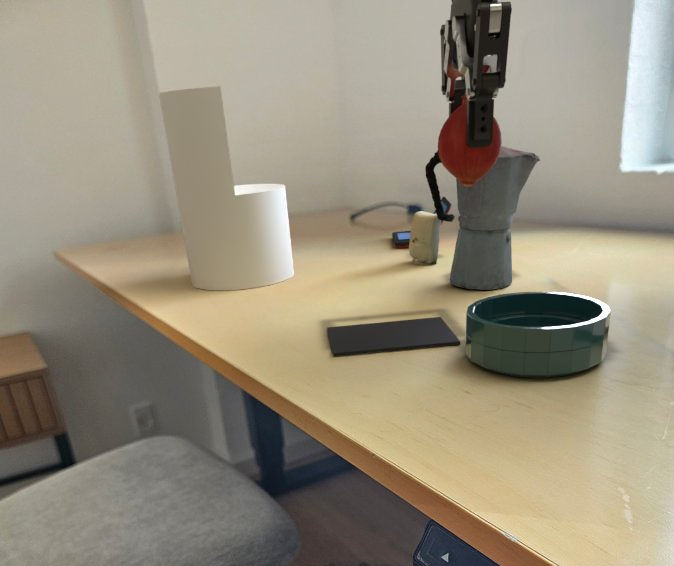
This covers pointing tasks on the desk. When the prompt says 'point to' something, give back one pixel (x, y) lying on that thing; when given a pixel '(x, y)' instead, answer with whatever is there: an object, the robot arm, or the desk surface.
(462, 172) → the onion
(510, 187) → the moka pot
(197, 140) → the white cylindrical chair
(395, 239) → the handheld console
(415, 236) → the cream rounded pillar
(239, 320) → the desk surface
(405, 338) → the mat
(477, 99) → the robot arm
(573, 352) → the bowl
